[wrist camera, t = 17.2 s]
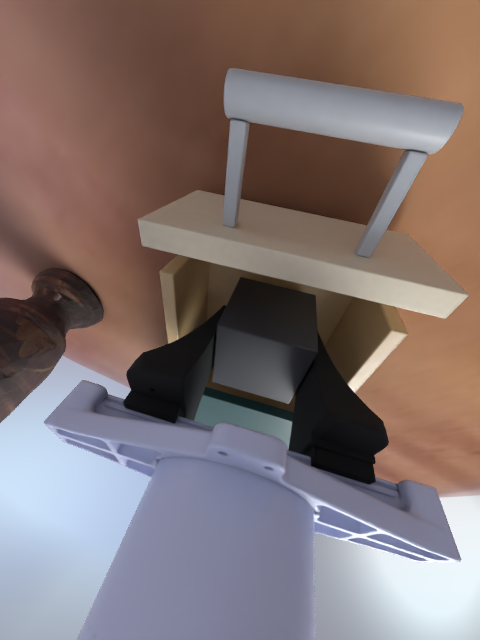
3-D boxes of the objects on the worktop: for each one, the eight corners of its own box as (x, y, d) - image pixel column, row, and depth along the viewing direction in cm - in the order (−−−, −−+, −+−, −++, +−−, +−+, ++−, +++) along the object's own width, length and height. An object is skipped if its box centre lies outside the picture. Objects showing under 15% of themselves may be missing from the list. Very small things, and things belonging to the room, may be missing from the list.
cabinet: (194, 309, 22) (149, 378, 16) (338, 347, 21) (351, 439, 15) (194, 387, 32) (166, 449, 25) (293, 416, 30) (289, 489, 24)
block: (293, 346, 17) (289, 404, 14) (232, 330, 18) (211, 382, 14) (316, 294, 14) (319, 352, 10) (240, 276, 14) (216, 325, 11)
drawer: (197, 81, 11) (105, 37, 6) (476, 126, 10) (648, 118, 5) (196, 334, 23) (165, 389, 18) (322, 368, 22) (326, 437, 17)
